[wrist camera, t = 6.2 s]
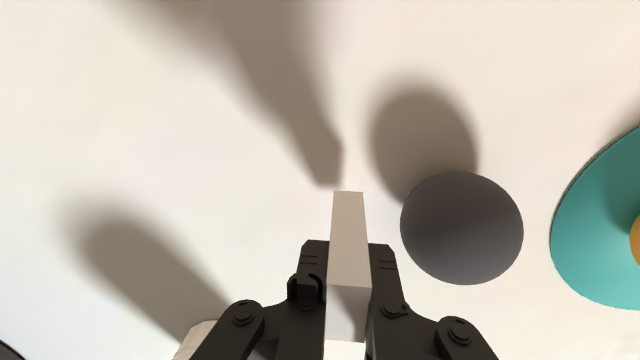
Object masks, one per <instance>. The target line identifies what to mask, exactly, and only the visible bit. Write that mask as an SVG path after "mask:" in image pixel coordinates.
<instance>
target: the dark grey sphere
mask: <svg viewBox="0 0 640 360" xmlns="http://www.w3.org/2000/svg"><path fill="white" fill-rule="evenodd" d="M400 232H401V237H402V241H403V244H404V246H405V248H406V250H407V252H408V254H409V256H410V257H411V258H412V260H413V261H414V262H415V263H416V264H417V265H418V266H419V267H420V268H421V269H422V270H423V271H425V272H426V273H428V274H429V275H431V276H432V277H434V278H436V279H438V280H441V281H444V282H447V283H451V284H457V285H475V284H480V283H485V282H488V281H490V280H492V279H495V278H496V277H498V276H500V275H501V274H502V273H504V272H505V271H506V270H507V269H508V268H509V267H510V266H511V265H512V264H513V263H514V261H515V260H516V258H517V256H518V254H519V252H520V250H521V246H522V242H523V235H524V230H523V221H522V218H521V215H520V212H519V209H518V207H517V205H516V204H515V202H514V201H513V199H512V198H511V197H510V195H509V194H508V193H507V192H506V191H505V190H504V189H503V188H501V187H500V186H499V185H498V184H496V183H495V182H493V181H491V180H490V179H488V178H485V177H483V176H480V175H477V174H473V173H468V172H447V173H442V174H439V175H436V176H433V177H431V178H429V179H427V180H425V181H424V182H422V183H421V184H420V185H418V186H417V187H416V188H415V189H414V190H413V191H412V192H411V194H410V195H409V196H408V198H407V200H406V202H405V203H404V206H403V209H402V212H401V217H400Z"/></svg>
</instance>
